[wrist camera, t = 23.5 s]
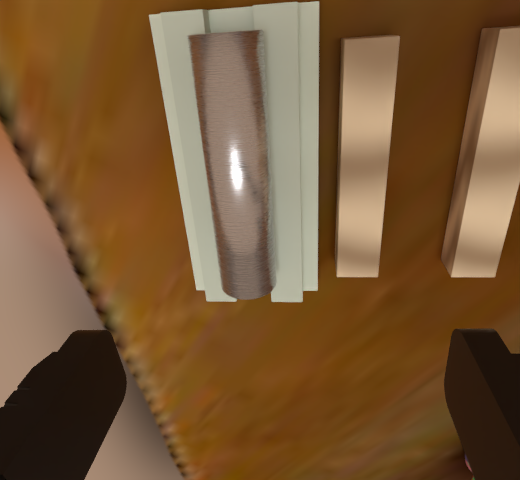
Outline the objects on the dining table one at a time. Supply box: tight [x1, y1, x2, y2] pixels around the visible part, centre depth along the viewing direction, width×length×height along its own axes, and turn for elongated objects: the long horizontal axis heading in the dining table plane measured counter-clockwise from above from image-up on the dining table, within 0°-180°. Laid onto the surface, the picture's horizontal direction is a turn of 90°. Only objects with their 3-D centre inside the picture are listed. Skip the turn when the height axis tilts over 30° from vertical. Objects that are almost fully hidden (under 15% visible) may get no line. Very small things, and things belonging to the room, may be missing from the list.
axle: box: [187, 30, 277, 299], centre depth 25 cm, size 16×4×4 cm, turn 4°
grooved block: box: [149, 1, 319, 302], centre depth 28 cm, size 20×10×3 cm, turn 4°
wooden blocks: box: [335, 26, 520, 277], centre depth 26 cm, size 16×11×2 cm
